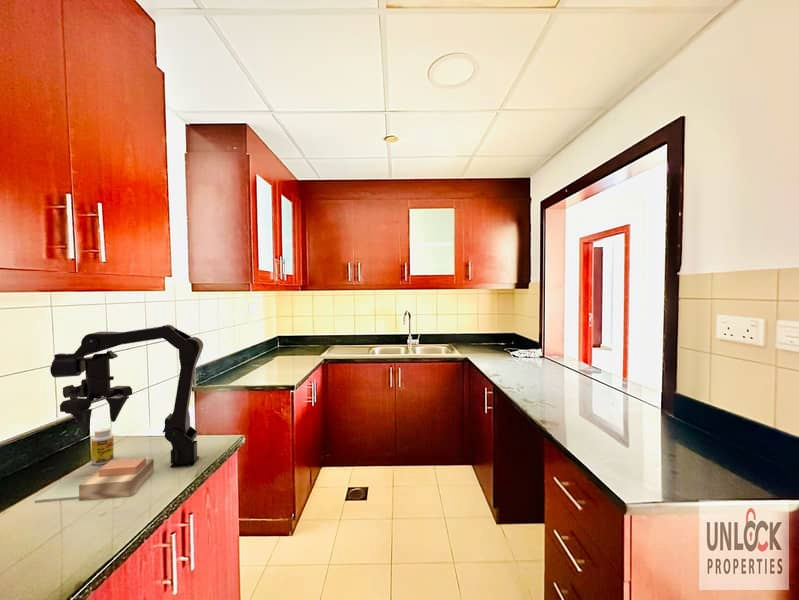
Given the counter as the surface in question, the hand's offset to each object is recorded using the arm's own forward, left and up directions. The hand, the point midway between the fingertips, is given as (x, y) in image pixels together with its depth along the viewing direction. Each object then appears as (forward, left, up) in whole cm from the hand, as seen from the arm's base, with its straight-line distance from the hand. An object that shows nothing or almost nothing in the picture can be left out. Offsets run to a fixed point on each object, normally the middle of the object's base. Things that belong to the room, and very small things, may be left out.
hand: (99, 426), depth 115 cm
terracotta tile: (-10, +9, -10) cm, 17 cm away
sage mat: (+2, +9, -14) cm, 17 cm away
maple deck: (-9, +9, -14) cm, 19 cm away
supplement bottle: (+4, -9, -14) cm, 17 cm away
